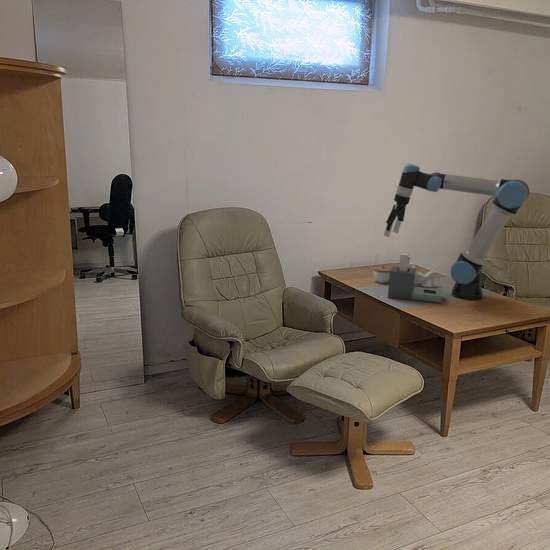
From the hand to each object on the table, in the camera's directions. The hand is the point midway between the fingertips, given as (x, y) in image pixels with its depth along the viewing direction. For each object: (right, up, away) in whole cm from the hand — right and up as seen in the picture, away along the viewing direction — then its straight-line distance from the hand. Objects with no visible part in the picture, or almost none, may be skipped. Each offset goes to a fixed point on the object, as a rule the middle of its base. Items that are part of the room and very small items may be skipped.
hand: (390, 234), depth 280 cm
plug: (+5, -21, -6) cm, 23 cm away
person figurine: (+18, -27, +18) cm, 37 cm away
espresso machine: (+11, -33, -5) cm, 35 cm away
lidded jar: (0, -25, +23) cm, 34 cm away
